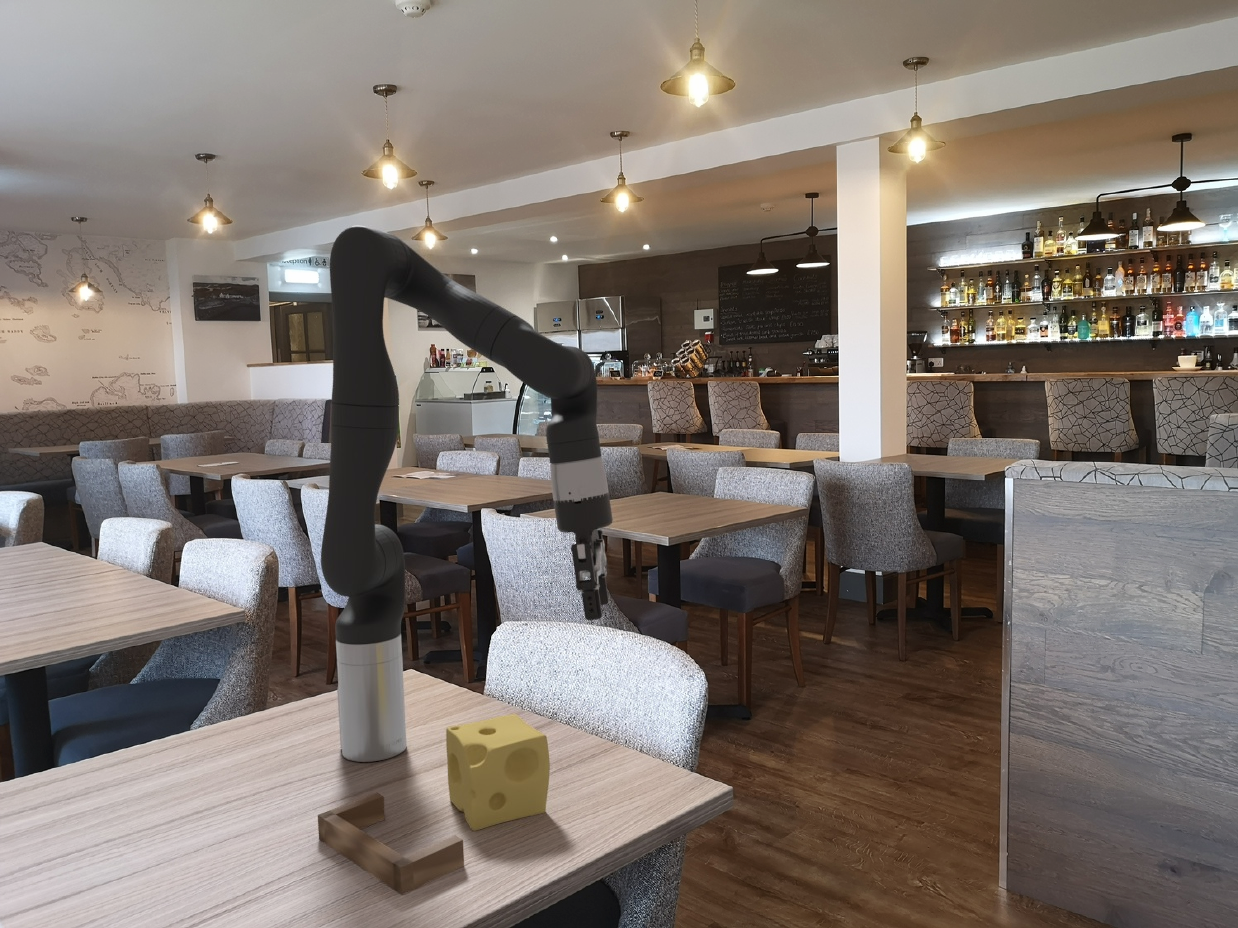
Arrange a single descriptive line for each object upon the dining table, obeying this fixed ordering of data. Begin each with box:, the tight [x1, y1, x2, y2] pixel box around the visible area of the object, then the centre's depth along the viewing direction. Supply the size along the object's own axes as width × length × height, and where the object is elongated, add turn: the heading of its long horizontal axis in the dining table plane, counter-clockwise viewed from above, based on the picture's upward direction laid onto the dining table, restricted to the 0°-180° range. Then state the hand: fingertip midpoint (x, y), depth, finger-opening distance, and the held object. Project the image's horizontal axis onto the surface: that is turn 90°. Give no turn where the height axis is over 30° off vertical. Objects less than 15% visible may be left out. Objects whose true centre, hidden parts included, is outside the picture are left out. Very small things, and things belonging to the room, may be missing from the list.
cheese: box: [445, 713, 551, 832], centre depth 118 cm, size 10×11×10 cm
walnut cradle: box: [317, 792, 465, 896], centre depth 107 cm, size 18×8×3 cm, turn 45°
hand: (597, 611), depth 126 cm, fingers open, 8 cm apart
